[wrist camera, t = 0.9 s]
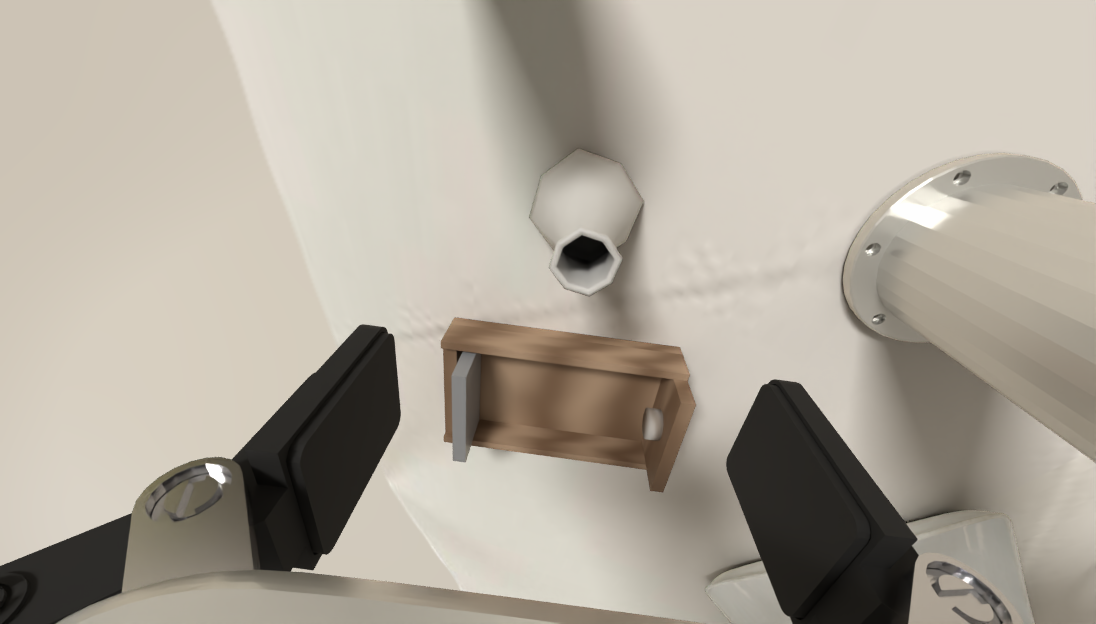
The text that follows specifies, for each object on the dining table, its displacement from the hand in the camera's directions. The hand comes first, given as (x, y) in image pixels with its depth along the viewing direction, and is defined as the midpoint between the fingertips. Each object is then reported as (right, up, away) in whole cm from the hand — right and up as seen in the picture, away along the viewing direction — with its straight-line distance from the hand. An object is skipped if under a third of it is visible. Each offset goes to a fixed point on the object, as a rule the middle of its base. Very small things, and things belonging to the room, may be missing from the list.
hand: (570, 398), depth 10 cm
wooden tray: (0, -4, +24) cm, 24 cm away
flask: (+2, +9, +17) cm, 19 cm away
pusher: (-7, -4, +23) cm, 24 cm away
